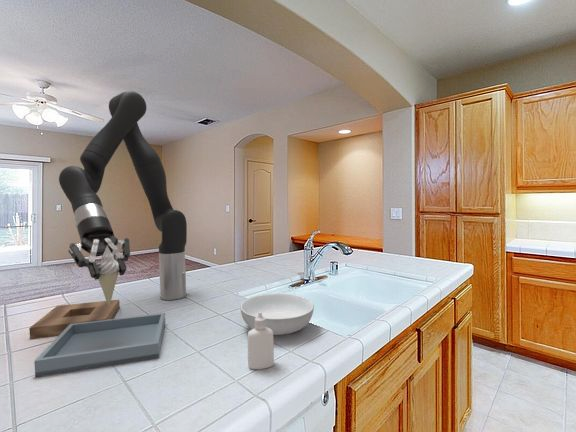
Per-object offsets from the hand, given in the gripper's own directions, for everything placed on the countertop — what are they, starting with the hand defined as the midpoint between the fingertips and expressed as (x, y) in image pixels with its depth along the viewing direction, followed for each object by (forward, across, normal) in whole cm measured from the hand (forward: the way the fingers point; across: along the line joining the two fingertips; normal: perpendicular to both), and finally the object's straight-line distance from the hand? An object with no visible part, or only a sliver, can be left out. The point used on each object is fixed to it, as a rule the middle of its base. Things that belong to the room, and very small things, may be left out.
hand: (110, 275), depth 75 cm
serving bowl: (+29, +36, -3) cm, 46 cm away
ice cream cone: (+4, 0, +7) cm, 8 cm away
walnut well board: (-5, 0, +32) cm, 32 cm away
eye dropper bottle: (+37, +19, -11) cm, 43 cm away
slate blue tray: (+12, 0, +14) cm, 19 cm away
